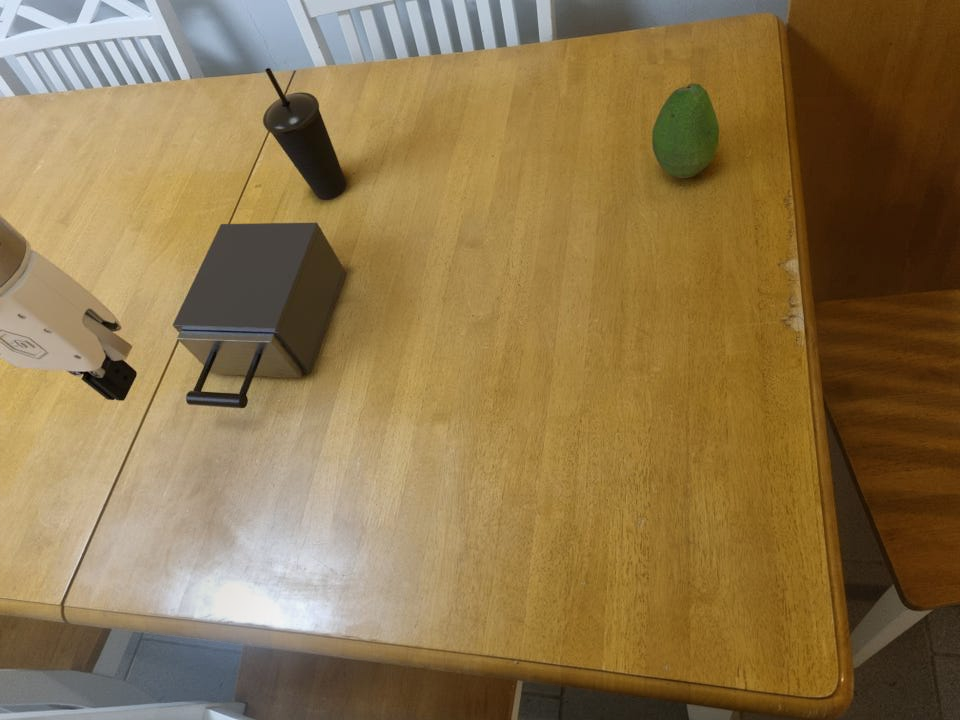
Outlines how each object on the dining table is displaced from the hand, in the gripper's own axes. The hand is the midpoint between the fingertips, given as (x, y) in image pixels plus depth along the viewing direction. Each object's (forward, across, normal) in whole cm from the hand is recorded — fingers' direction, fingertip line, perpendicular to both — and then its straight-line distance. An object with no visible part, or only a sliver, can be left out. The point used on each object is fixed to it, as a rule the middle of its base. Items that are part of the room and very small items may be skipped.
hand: (123, 386), depth 69 cm
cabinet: (+18, 0, +21) cm, 28 cm away
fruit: (+18, +49, +46) cm, 70 cm away
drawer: (+18, 0, +16) cm, 24 cm away
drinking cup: (+18, 0, +44) cm, 48 cm away
